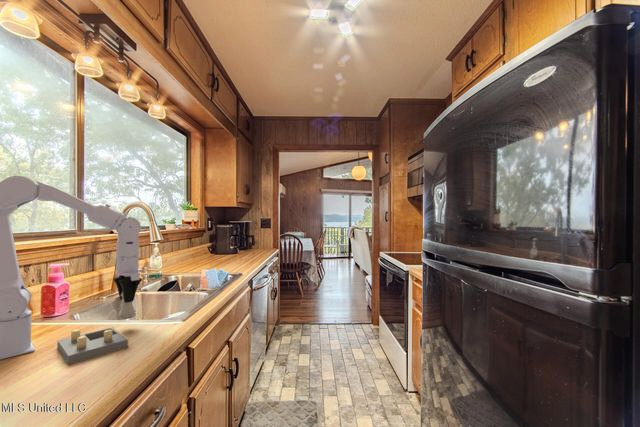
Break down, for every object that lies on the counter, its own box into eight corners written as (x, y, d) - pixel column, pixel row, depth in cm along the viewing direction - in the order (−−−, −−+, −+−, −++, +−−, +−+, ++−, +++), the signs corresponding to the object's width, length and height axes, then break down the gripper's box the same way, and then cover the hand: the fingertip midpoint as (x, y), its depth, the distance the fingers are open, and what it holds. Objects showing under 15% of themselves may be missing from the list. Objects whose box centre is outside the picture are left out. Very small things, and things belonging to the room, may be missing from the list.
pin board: (57, 348, 75) (57, 330, 75) (112, 334, 84) (112, 318, 84) (68, 364, 67) (68, 345, 67) (127, 347, 76) (128, 329, 76)
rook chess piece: (133, 313, 92) (132, 288, 92) (138, 316, 89) (137, 290, 89) (116, 317, 88) (116, 291, 88) (121, 320, 86) (120, 293, 85)
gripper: (151, 257, 87) (150, 302, 87) (134, 253, 96) (133, 293, 96) (124, 259, 82) (123, 307, 82) (108, 255, 91) (107, 298, 91)
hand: (126, 300), depth 89 cm, fingers closed on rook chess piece, 3 cm apart
